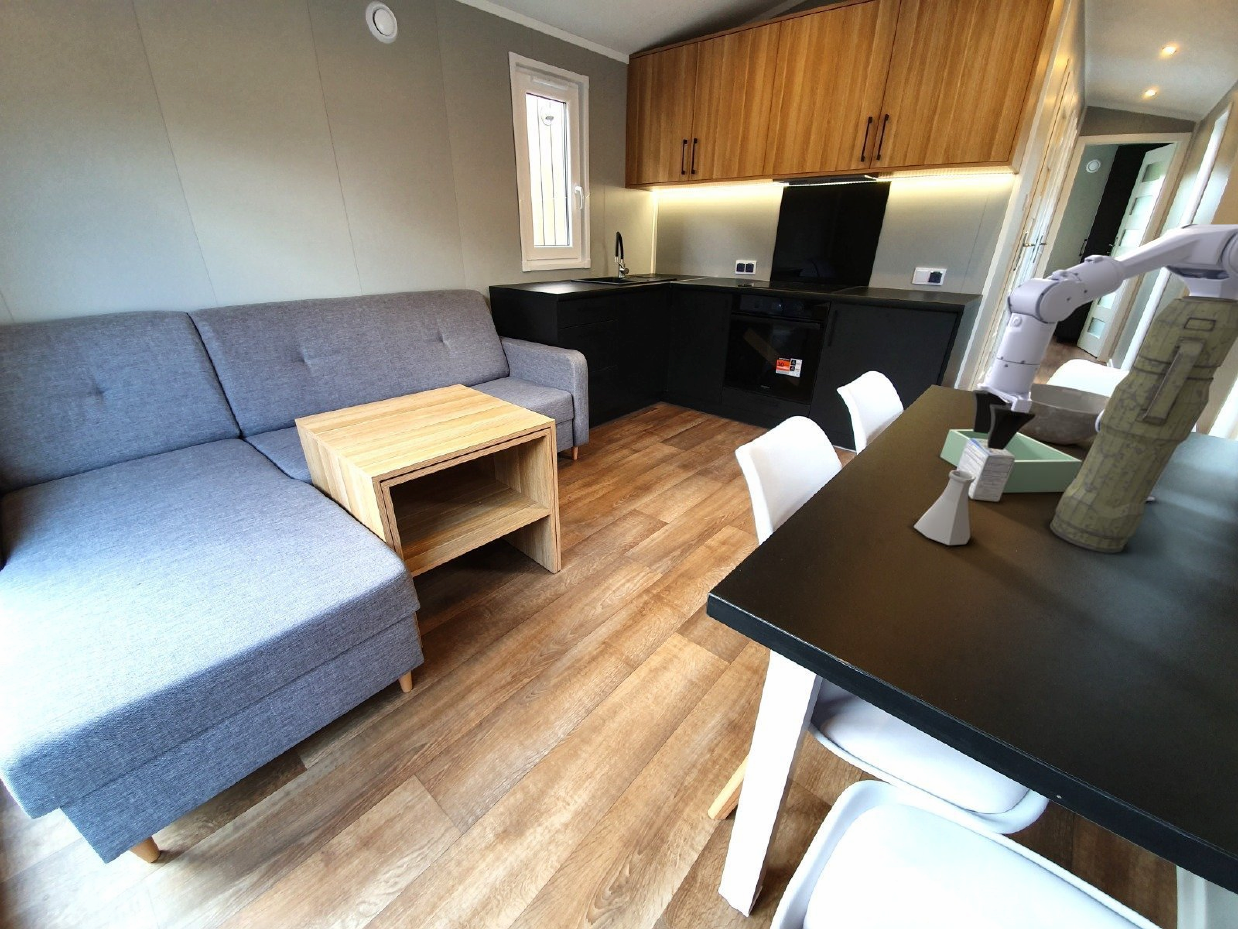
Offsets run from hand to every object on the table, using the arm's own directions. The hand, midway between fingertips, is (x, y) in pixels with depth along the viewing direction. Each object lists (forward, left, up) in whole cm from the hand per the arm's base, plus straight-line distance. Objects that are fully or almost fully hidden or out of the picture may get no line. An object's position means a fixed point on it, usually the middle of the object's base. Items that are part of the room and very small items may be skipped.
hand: (987, 440), depth 83 cm
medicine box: (-2, -1, -10) cm, 11 cm away
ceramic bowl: (-40, -26, -10) cm, 49 cm away
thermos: (-8, +14, -10) cm, 19 cm away
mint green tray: (-13, -8, -10) cm, 18 cm away
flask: (+14, +12, -10) cm, 21 cm away
